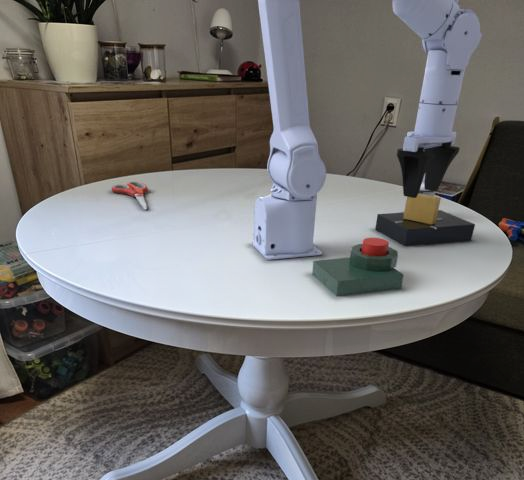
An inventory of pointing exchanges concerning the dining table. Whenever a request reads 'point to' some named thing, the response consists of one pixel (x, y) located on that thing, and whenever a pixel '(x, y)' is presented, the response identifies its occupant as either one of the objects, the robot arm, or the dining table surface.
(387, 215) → the dark gray flat block
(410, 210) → the tan wooden brick
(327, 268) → the button box
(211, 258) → the dining table surface
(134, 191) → the scissors
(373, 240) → the button
